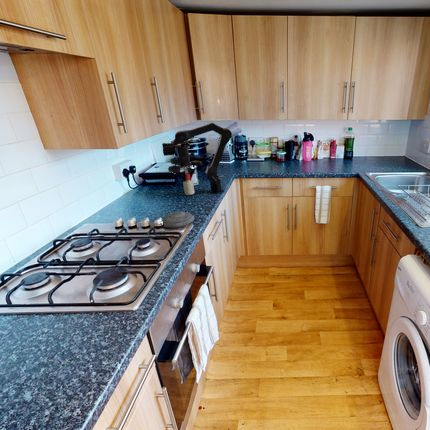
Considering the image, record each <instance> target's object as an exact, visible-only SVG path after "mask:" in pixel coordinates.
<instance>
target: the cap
mask: <svg viewBox="0 0 430 430" xmlns="http://www.w3.org/2000/svg"><path fill="white" fill-rule="evenodd" d="M185 176H186V181H188V180H191V177H190V173H185Z"/></svg>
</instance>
